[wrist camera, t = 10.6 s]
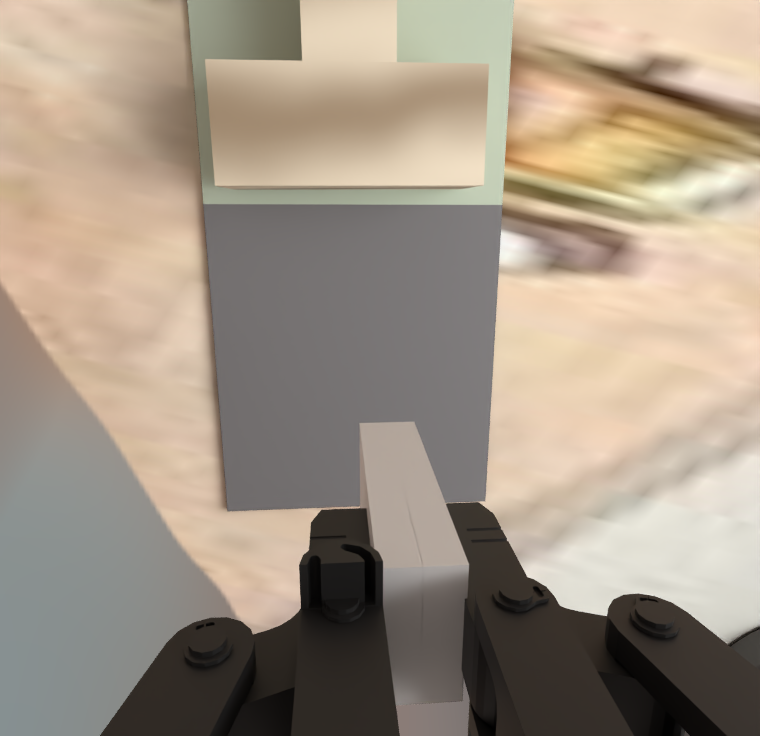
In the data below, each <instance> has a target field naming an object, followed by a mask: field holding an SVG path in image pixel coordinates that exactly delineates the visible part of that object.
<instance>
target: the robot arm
mask: <svg viewBox="0 0 760 736" xmlns="http://www.w3.org/2000/svg"><path fill="white" fill-rule="evenodd" d="M359 428H360V508H359V509H333V510H321V511H320V512H319V514H318V515H317V516H316V517H315V519H314V520H313V521H312V522H311V532H310V545H309V551H308V552H307V553H306V554H304V555H303V557H302V560H301V562H300V564H299V571H300V595H301V609H300V610H299V612H298V613H297V614H296V615H295V616H294V617H293V618H291V619H290V620H289V621H287V622H285V623H284V624H282V625H280V626H278V627H275V628H273V629H270V630H267V631H264V632H261V633H257V634H254V635H253V634H252V631H251V629H250V628H249V627H247V626H246V625H245V624H244V623H242V622H241V621H238V620H234V619H231V618H227V617H226V618H209V619H205V620H201V621H198V622H194V623H192V624H190V625H189V626H187V627H185V628H183V629H181V630H180V631H178V632H177V633H176V634H175V635H174V636H173V637H172V638H171V639H170V640H169V641H168V642H167V643H166V645H165V646H164V648H163V649H162V650H161V651H160V653H159V654H158V656H157V657H156V658H155V660H154V661H153V663H152V664H151V665H150V667H149V668H148V670H147V671H146V672H145V674H144V675H143V677H142V678H141V679H140V681H139V682H138V683H137V685H136V686H135V688H134V689H133V690H132V692H131V693H130V695H129V696H128V698H127V699H126V700H125V702H124V703H123V705H122V706H121V707H120V709H119V710H118V711H117V713H116V714H115V716H114V717H113V718H112V720H111V721H110V723H109V724H108V725H107V727H106V728H105V729H104V731H103V732H102V734H101V735H100V736H400V735H399V727H398V720H397V711H396V705H411V704H426V703H441V702H457V701H462V699H463V679H464V680H465V684H466V687H467V691H468V694H469V698H470V703H469V704H470V705H469V722H468V736H684V732H685V731H686V732H687V733H688V734H689V735H690V736H760V629H759V630H757V631H755V632H752V633H751V634H749V635H747V636H745V637H744V638H742V639H740V640H739V641H737V642H736V643H735V644H733V645H732V646H731V647H730V646H729V645H727V644H726V643H725V642H724V641H722V640H721V639H720V638H719V637H717V636H716V635H715V634H714V633H712V632H711V631H710V630H709V629H707V628H706V627H705V626H704V625H702V624H701V623H700V622H699V621H697V620H696V619H695V618H694V617H692V616H691V615H690V614H689V613H687V612H686V611H684V610H683V609H681V608H679V607H678V606H676V605H675V604H673V603H671V602H668V601H666V600H663V599H660V598H658V597H655V596H650V595H643V594H629V595H622V596H620V597H618V598H616V599H614V600H613V601H612V603H611V604H610V606H609V608H608V614H607V616H601V615H596V614H590V613H584V612H579V611H575V610H570V609H566V608H564V607H561V606H560V605H559V604H558V602H557V600H556V598H555V597H554V595H553V594H552V593H551V592H550V591H549V590H548V589H547V587H545V586H544V585H542V584H540V583H539V582H537V581H535V580H534V579H531V578H527V576H526V574H525V572H524V570H523V568H522V566H521V565H520V563H519V561H518V559H517V557H516V555H515V553H514V551H513V549H512V548H511V546H510V544H509V542H508V541H507V538H506V536H505V534H504V533H503V531H502V530H501V527H500V525H499V523H498V521H497V519H496V517H495V516H494V514H493V513H492V512H491V511H489V510H488V509H487V508H485V507H484V506H483V505H481V504H480V503H478V502H475V503H448V504H446V503H445V501H444V498H443V495H442V493H441V490H440V488H439V485H438V482H437V480H436V477H435V475H434V472H433V469H432V467H431V464H430V462H429V459H428V456H427V454H426V451H425V449H424V446H423V443H422V441H421V438H420V435H419V433H418V430H417V428H416V425H415V422H380V423H359Z"/></svg>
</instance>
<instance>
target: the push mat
mask: <svg viewBox="0 0 760 736" xmlns="http://www.w3.org/2000/svg"><path fill="white" fill-rule="evenodd" d="M187 4H188V16H189V29H190V42H191V54H192V67H193V80H194V92H195V105H196V117H197V130H198V143H199V155H200V168H201V181H202V193H203V206H204V219H205V231H206V244H207V257H208V269H209V282H210V295H211V307H212V320H213V332H214V345H215V358H216V370H217V383H218V396H219V408H220V421H221V434H222V446H223V459H224V472H225V484H226V497H227V510H228V511H247V510H272V509H298V508H323V507H349V506H360V428H359V423H380V422H415V425H416V428H417V430H418V433H419V435H420V438H421V441H422V443H423V446H424V449H425V451H426V454H427V456H428V459H429V462H430V464H431V467H432V469H433V472H434V475H435V477H436V480H437V482H438V485H439V488H440V490H441V493H442V495H443V498H444V501H445V503H450V502H476V501H485V496H486V478H487V461H488V444H489V426H490V409H491V392H492V374H493V357H494V339H495V322H496V305H497V287H498V270H499V253H500V235H501V218H502V201H503V183H504V166H505V149H506V131H507V114H508V97H509V79H510V62H511V44H512V27H513V10H514V0H397V62H417V63H480V64H489V79H488V103H487V126H486V149H485V172H484V186H478V187H471V188H465V189H346V190H233V189H228V188H223V187H219V186H215V180H214V168H213V155H212V142H211V130H210V117H209V104H208V92H207V79H206V66H205V59H229V60H291V61H302V43H301V16H300V0H187Z"/></svg>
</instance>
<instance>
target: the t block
mask: <svg viewBox="0 0 760 736" xmlns="http://www.w3.org/2000/svg"><path fill="white" fill-rule="evenodd" d="M300 16H301V43H302V61H291V60H229V59H205V66H206V79H207V92H208V104H209V117H210V130H211V142H212V155H213V168H214V180H215V186H219V187H223V188H228V189H233V190H346V189H465V188H471V187H478V186H484V172H485V149H486V126H487V103H488V79H489V64H480V63H417V62H397V0H300Z"/></svg>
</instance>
